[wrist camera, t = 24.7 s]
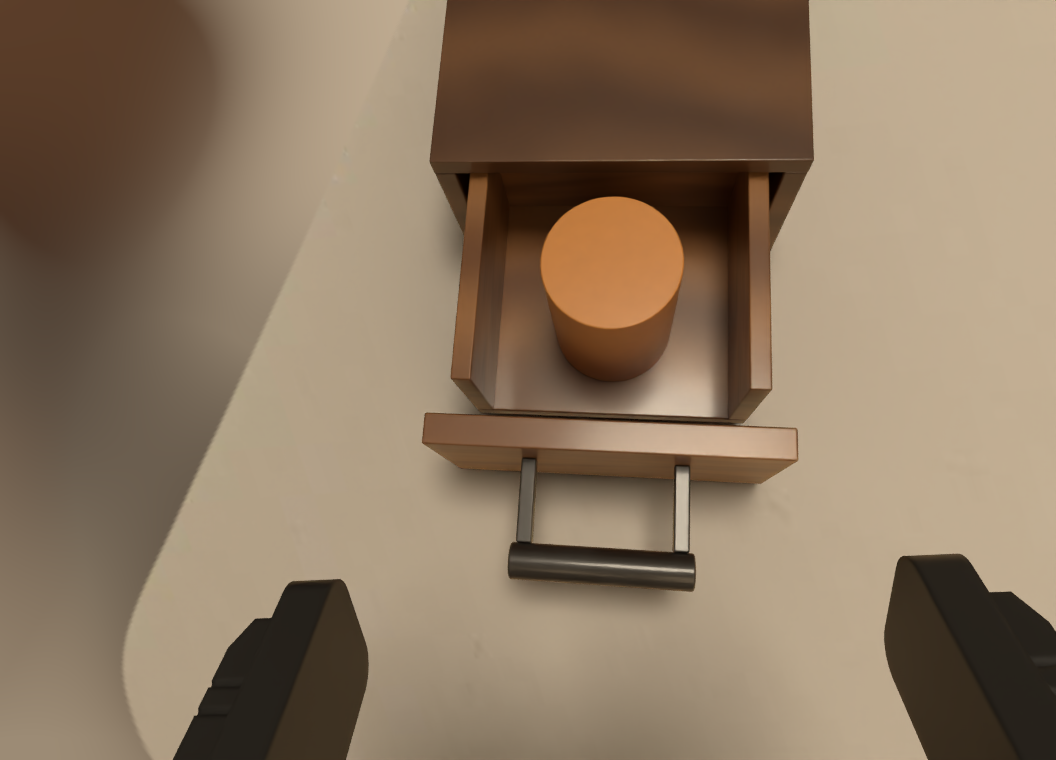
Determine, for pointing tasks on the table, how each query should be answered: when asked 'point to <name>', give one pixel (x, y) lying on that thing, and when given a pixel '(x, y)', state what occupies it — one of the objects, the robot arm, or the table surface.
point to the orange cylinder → (612, 285)
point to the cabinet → (625, 91)
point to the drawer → (659, 394)
